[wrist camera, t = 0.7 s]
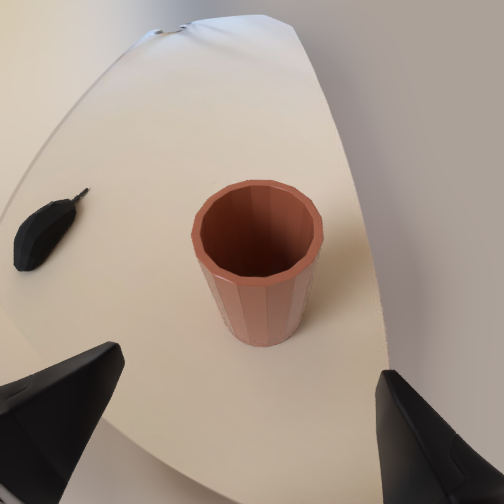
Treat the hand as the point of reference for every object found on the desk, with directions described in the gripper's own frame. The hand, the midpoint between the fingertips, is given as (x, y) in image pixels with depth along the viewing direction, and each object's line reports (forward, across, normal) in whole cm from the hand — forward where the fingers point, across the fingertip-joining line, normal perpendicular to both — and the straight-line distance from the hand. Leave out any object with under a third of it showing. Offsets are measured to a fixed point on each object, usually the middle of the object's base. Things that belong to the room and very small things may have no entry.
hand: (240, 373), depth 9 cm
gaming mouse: (+20, +30, +1) cm, 36 cm away
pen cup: (+16, +2, +7) cm, 17 cm away
